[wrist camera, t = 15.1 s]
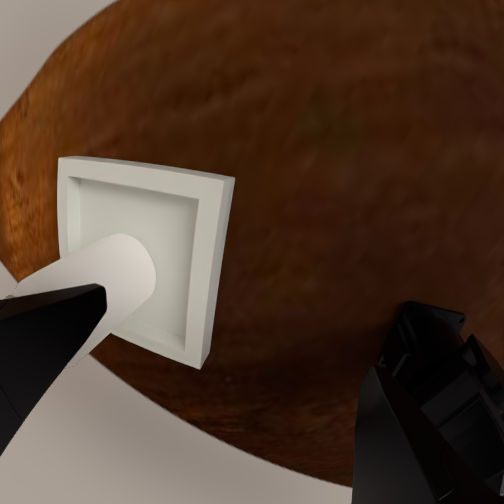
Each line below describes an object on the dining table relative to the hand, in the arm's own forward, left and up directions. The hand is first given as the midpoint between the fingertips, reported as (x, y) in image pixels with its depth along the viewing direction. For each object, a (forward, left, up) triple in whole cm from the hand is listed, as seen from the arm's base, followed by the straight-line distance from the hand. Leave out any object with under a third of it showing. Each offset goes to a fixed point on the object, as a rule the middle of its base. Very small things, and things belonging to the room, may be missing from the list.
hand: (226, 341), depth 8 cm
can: (+12, +6, -12) cm, 18 cm away
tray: (+12, +5, -13) cm, 18 cm away
